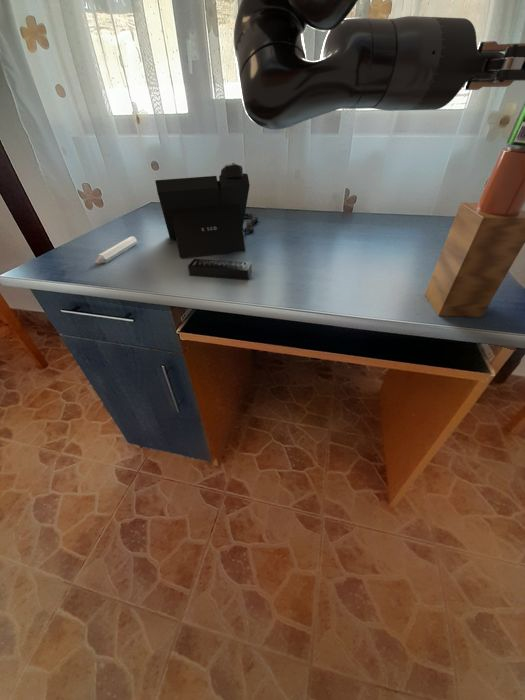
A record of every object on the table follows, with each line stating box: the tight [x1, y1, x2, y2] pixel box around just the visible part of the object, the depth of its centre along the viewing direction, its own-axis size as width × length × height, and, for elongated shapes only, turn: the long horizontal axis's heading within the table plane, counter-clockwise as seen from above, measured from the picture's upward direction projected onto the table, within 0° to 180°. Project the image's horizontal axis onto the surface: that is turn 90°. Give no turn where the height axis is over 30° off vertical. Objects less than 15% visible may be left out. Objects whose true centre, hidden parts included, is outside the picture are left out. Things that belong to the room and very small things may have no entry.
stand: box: [424, 202, 525, 318], centre depth 54 cm, size 8×8×18 cm
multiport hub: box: [187, 258, 253, 281], centre depth 70 cm, size 4×14×2 cm, turn 80°
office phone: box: [155, 162, 259, 260], centre depth 83 cm, size 29×28×20 cm
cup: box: [476, 147, 525, 216], centre depth 45 cm, size 6×6×8 cm
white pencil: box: [94, 235, 138, 265], centre depth 79 cm, size 3×2×16 cm
